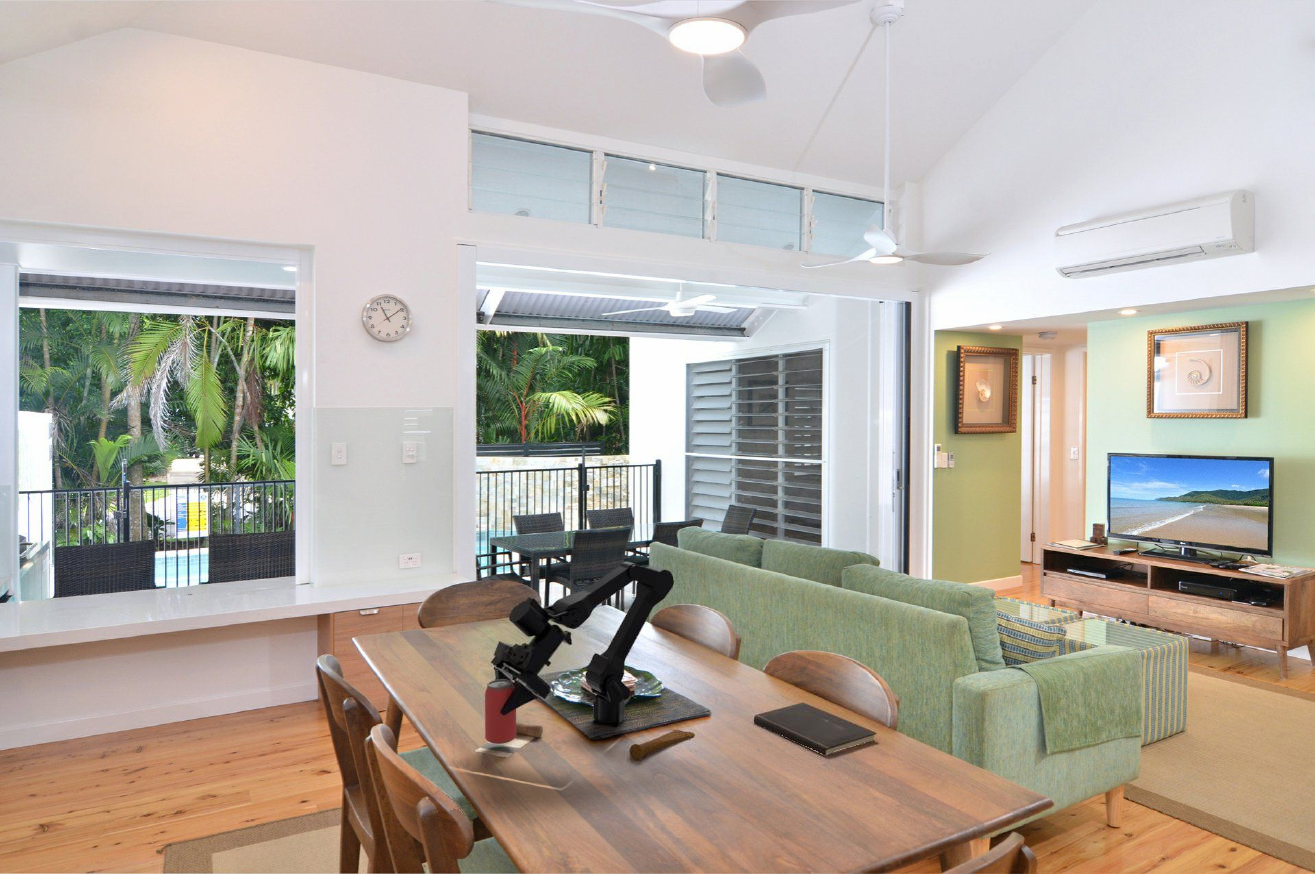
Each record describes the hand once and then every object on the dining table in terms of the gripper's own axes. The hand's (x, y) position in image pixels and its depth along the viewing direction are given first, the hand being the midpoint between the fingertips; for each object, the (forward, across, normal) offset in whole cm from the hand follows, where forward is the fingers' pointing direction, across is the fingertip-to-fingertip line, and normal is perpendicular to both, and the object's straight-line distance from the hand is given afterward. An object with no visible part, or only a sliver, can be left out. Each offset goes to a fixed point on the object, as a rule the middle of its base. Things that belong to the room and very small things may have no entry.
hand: (494, 709), depth 174 cm
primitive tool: (-15, +17, +29) cm, 37 cm away
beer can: (+4, 0, +6) cm, 7 cm away
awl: (+1, -5, +12) cm, 13 cm away
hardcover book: (-38, +31, +53) cm, 72 cm away
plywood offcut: (+3, -2, +10) cm, 10 cm away
